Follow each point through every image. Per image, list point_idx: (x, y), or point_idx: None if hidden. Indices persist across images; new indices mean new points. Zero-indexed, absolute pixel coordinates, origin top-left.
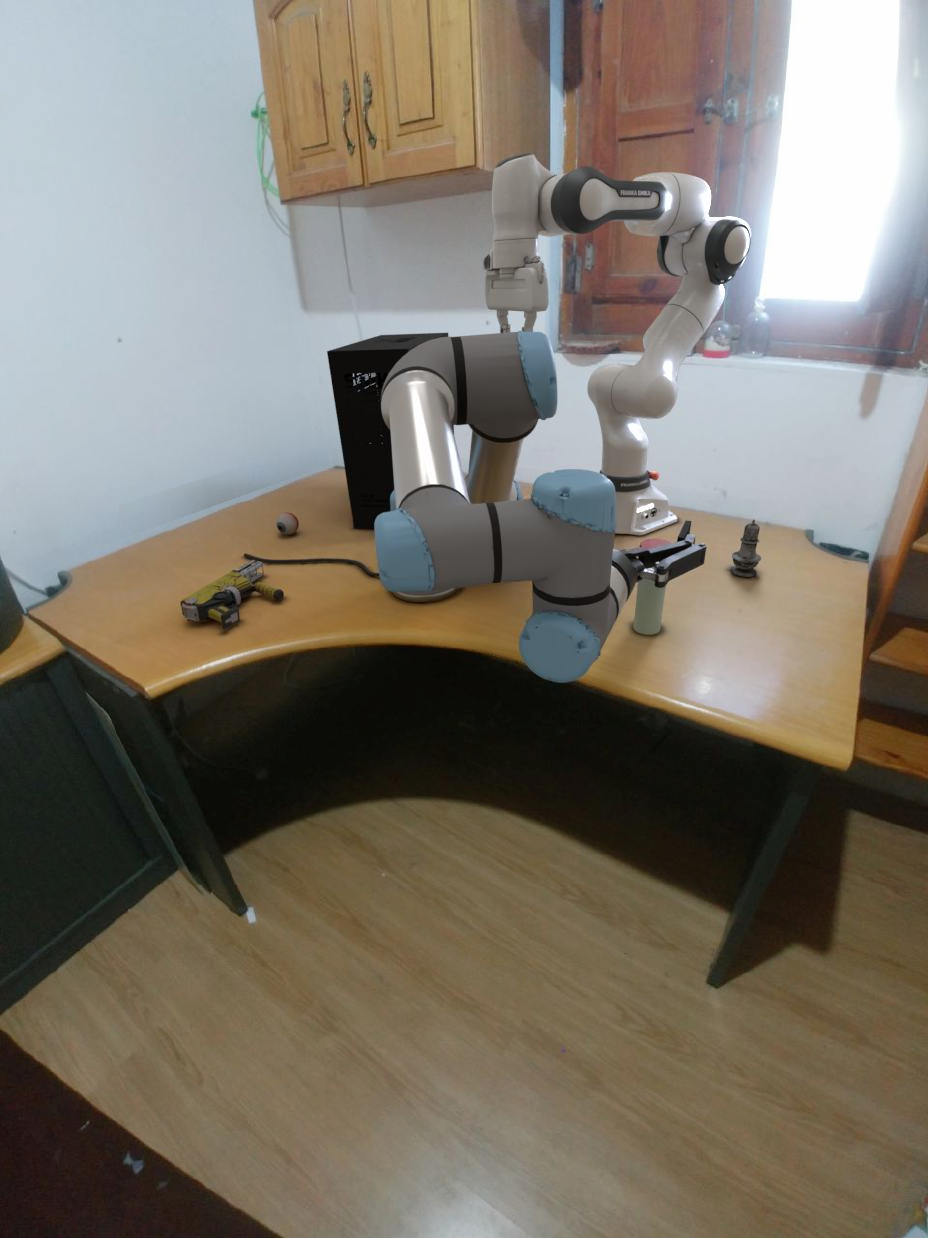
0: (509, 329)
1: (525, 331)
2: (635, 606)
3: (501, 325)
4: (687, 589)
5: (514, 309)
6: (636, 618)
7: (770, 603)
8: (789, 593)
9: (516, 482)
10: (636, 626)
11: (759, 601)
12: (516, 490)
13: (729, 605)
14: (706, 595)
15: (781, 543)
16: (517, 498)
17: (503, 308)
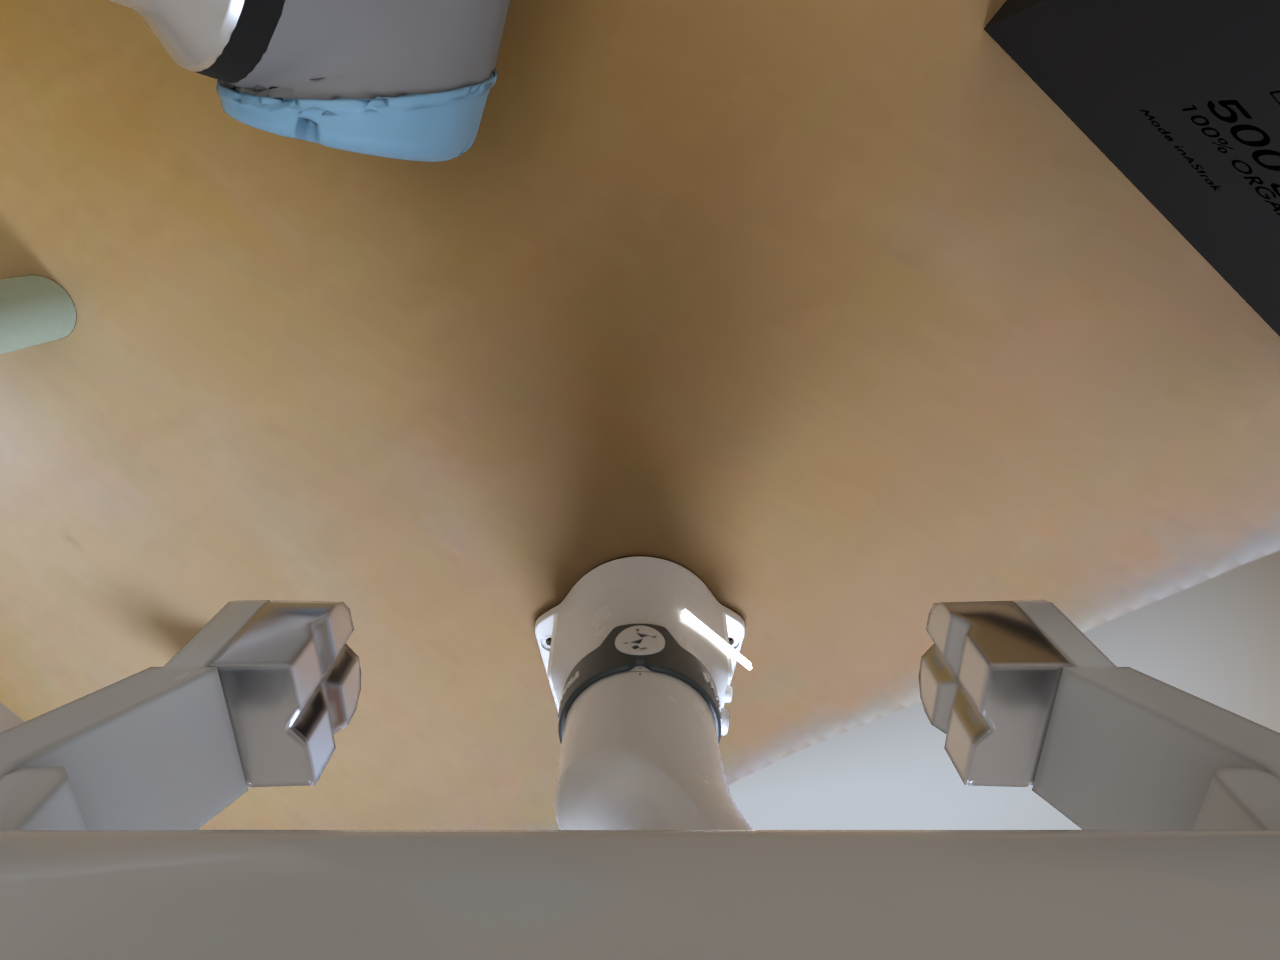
0: (943, 720)
1: (201, 632)
2: (8, 290)
3: (1044, 659)
4: (202, 516)
5: (268, 836)
6: (9, 279)
7: (85, 613)
8: (117, 674)
9: (291, 127)
10: (23, 276)
11: (100, 602)
12: (182, 65)
13: (100, 539)
14: (160, 531)
15: (346, 828)
16: (220, 85)
17: (928, 841)
